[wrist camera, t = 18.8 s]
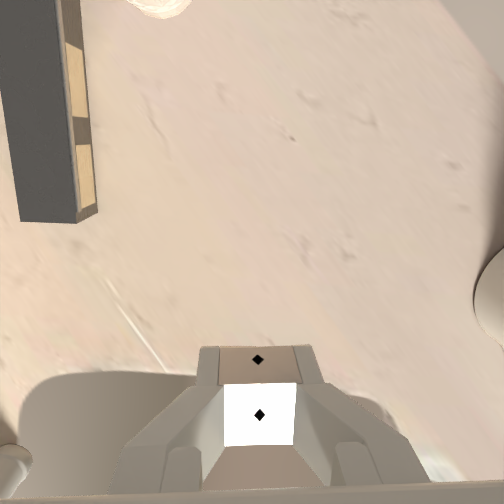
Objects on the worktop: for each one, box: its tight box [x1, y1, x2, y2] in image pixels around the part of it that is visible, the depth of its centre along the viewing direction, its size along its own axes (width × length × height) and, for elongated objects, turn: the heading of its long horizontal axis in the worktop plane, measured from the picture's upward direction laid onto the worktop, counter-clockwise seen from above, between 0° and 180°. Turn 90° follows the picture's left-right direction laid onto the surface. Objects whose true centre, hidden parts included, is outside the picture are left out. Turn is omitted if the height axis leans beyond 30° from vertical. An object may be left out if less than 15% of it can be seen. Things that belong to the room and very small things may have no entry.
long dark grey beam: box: [0, 0, 98, 224], centre depth 32 cm, size 5×24×5 cm, turn 177°
